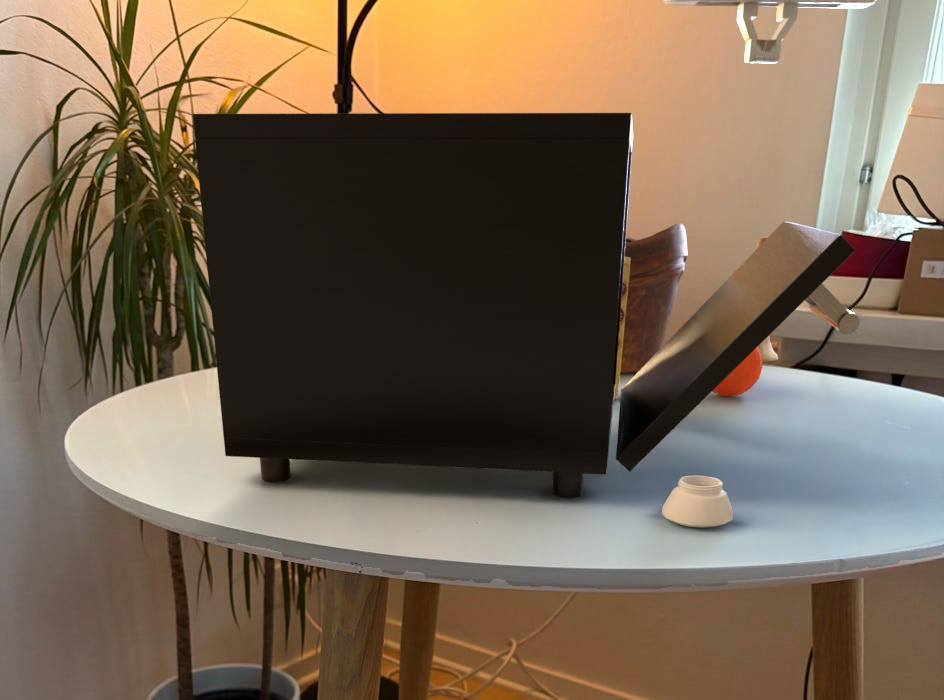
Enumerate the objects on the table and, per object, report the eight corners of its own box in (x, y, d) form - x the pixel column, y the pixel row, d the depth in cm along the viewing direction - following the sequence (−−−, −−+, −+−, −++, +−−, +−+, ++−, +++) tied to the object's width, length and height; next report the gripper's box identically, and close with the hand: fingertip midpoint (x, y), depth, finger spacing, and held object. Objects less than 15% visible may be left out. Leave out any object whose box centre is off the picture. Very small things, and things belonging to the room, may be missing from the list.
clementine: (702, 386, 120) (708, 326, 117) (761, 391, 118) (769, 329, 115) (693, 399, 113) (700, 334, 110) (755, 403, 111) (764, 338, 108)
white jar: (694, 535, 69) (746, 524, 71) (698, 494, 68) (751, 484, 70) (647, 516, 73) (698, 506, 75) (651, 477, 72) (703, 468, 74)
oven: (612, 421, 102) (633, 134, 91) (604, 507, 75) (631, 112, 64) (332, 410, 106) (318, 133, 95) (228, 486, 79) (192, 113, 68)
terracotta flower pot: (518, 357, 139) (522, 219, 131) (652, 354, 142) (664, 219, 135) (551, 380, 123) (558, 224, 116) (701, 376, 126) (717, 225, 119)
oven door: (671, 439, 101) (837, 276, 92) (683, 523, 75) (913, 311, 67) (620, 389, 99) (784, 220, 91) (615, 459, 74) (840, 234, 66)
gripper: (673, -130, 84) (657, 57, 90) (910, -126, 84) (880, 60, 90) (659, -110, 90) (645, 64, 96) (882, -107, 90) (854, 67, 96)
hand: (761, 62), depth 93 cm, fingers closed
